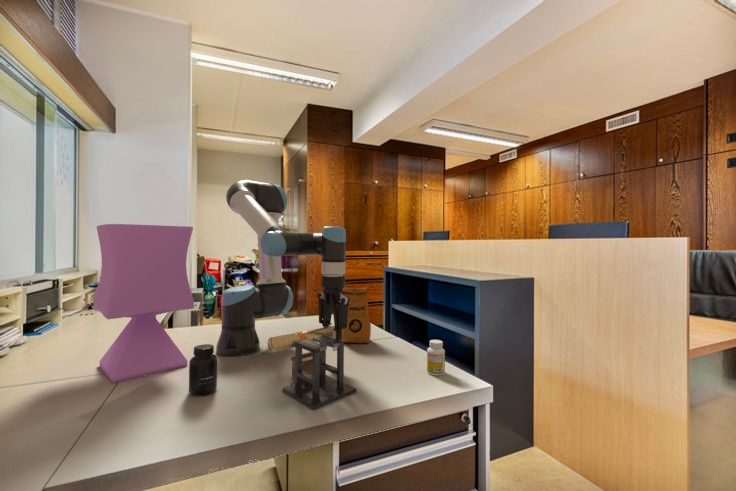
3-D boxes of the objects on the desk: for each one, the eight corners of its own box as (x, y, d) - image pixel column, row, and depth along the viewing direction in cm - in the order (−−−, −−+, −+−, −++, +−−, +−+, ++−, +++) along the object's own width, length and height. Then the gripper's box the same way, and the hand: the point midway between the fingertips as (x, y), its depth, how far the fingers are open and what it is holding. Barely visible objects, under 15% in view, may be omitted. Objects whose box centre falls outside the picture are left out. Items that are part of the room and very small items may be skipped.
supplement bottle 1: (205, 398, 86) (206, 351, 86) (182, 395, 88) (182, 349, 88) (222, 387, 93) (222, 343, 93) (200, 384, 94) (200, 342, 94)
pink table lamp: (193, 365, 109) (194, 226, 109) (107, 386, 93) (108, 223, 93) (170, 350, 125) (171, 228, 125) (93, 366, 108) (93, 226, 108)
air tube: (274, 354, 91) (275, 339, 91) (267, 350, 94) (267, 335, 94) (342, 339, 108) (343, 326, 108) (334, 336, 111) (334, 323, 111)
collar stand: (282, 391, 90) (282, 341, 90) (324, 377, 100) (324, 332, 100) (313, 410, 80) (313, 353, 80) (356, 392, 90) (356, 342, 90)
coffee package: (370, 345, 132) (370, 289, 132) (338, 344, 133) (339, 288, 133) (371, 338, 142) (371, 286, 142) (341, 337, 143) (342, 285, 143)
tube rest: (290, 376, 100) (290, 356, 100) (312, 370, 106) (312, 350, 106) (302, 383, 96) (303, 362, 96) (325, 375, 101) (325, 355, 101)
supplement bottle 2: (433, 368, 108) (433, 337, 108) (448, 372, 104) (448, 341, 104) (423, 372, 104) (423, 341, 104) (438, 377, 101) (438, 345, 101)
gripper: (360, 276, 104) (358, 352, 105) (326, 272, 116) (325, 340, 117) (341, 278, 99) (340, 357, 99) (308, 273, 111) (307, 344, 111)
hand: (332, 348), depth 108 cm, fingers closed on air tube, 4 cm apart
